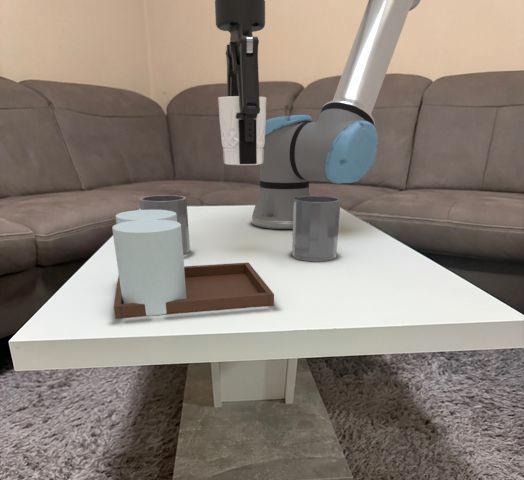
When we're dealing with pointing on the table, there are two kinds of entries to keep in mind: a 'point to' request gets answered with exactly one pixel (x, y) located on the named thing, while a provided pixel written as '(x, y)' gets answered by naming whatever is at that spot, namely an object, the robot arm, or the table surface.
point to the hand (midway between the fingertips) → (243, 162)
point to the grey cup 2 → (315, 228)
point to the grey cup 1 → (170, 204)
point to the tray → (209, 291)
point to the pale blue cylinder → (150, 263)
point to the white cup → (231, 129)
